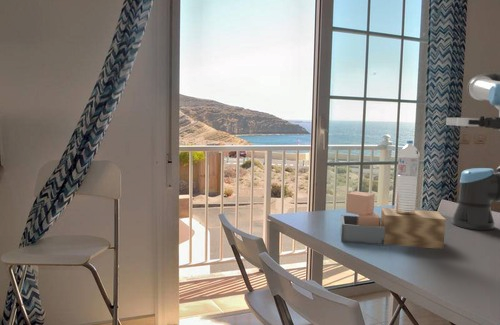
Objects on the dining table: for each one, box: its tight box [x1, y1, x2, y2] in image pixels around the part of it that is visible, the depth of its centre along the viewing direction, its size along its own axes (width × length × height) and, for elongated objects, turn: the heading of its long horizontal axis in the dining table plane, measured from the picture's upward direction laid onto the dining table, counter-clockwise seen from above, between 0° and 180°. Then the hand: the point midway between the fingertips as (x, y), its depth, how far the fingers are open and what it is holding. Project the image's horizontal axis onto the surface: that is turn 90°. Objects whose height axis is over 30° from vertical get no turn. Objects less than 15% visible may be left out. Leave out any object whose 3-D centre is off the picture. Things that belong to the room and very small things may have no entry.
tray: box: [340, 214, 385, 246], centre depth 151 cm, size 14×15×6 cm
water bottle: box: [394, 139, 421, 215], centre depth 146 cm, size 7×7×25 cm
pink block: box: [356, 212, 381, 227], centre depth 151 cm, size 8×7×7 cm
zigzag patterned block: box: [380, 207, 447, 250], centre depth 147 cm, size 19×12×10 cm, turn 79°
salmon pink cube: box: [345, 190, 376, 216], centre depth 154 cm, size 8×7×7 cm
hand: (451, 121), depth 145 cm, fingers open, 13 cm apart
